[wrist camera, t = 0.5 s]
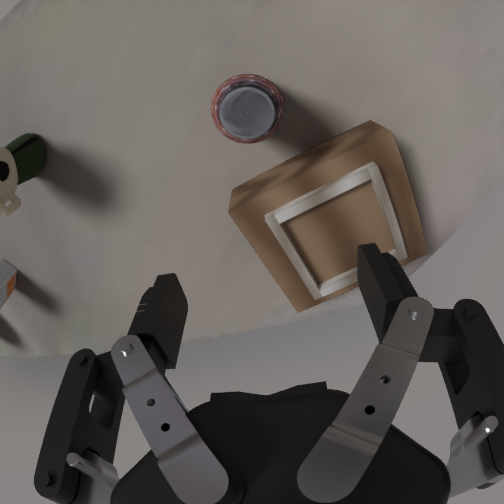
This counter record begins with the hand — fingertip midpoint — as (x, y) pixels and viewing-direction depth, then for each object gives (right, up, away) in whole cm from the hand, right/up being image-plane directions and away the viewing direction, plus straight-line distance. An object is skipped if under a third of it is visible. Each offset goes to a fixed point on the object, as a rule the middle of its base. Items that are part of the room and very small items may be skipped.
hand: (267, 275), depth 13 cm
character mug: (-30, +14, +18) cm, 38 cm away
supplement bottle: (-1, +17, +16) cm, 24 cm away
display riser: (+9, +6, +23) cm, 26 cm away
